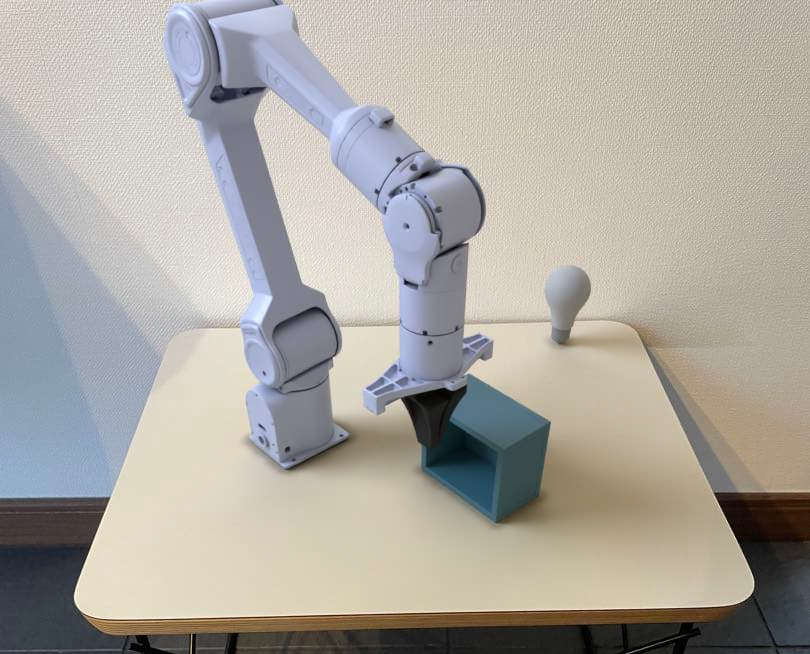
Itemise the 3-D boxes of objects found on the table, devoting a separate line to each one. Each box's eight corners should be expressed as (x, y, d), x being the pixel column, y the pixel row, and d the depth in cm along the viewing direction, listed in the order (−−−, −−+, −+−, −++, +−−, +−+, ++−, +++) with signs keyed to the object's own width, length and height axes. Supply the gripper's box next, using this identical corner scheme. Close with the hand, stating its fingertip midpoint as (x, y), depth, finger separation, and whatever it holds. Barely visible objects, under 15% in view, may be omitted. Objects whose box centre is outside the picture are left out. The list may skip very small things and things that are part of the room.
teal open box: (495, 523, 82) (503, 449, 75) (421, 469, 88) (422, 396, 81) (539, 494, 85) (551, 421, 78) (464, 444, 92) (469, 372, 85)
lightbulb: (531, 346, 107) (541, 272, 100) (546, 327, 111) (557, 253, 103) (572, 357, 105) (586, 282, 98) (586, 337, 109) (600, 263, 101)
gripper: (398, 368, 61) (400, 495, 71) (522, 309, 68) (508, 432, 78) (344, 334, 65) (352, 458, 75) (466, 281, 72) (459, 402, 81)
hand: (428, 443), depth 76 cm, fingers closed
